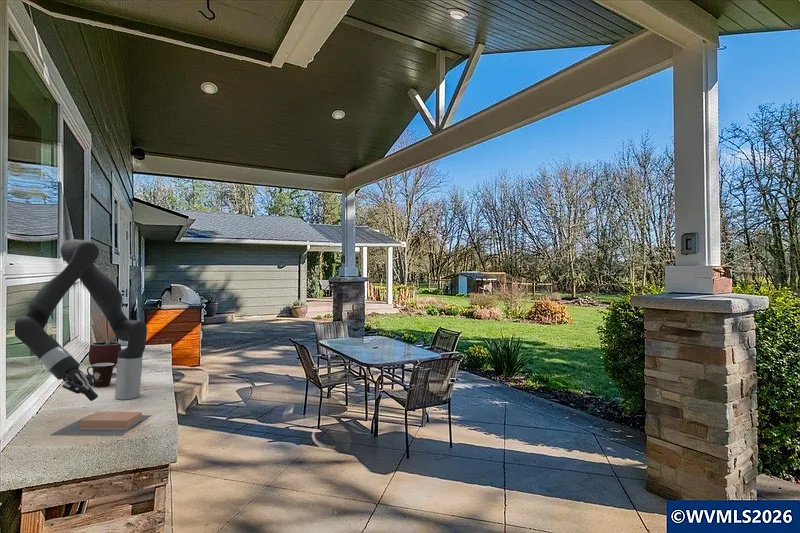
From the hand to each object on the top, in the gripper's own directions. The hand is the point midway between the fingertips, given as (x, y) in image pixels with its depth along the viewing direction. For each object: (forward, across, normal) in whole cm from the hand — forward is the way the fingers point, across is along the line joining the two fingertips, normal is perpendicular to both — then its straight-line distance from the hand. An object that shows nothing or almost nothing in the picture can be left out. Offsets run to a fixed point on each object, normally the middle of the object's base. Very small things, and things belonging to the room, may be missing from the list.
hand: (94, 398), depth 152 cm
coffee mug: (-14, +58, +28) cm, 66 cm away
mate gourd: (-20, +76, +33) cm, 85 cm away
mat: (+9, 0, +4) cm, 10 cm away
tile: (+4, 0, +6) cm, 7 cm away
